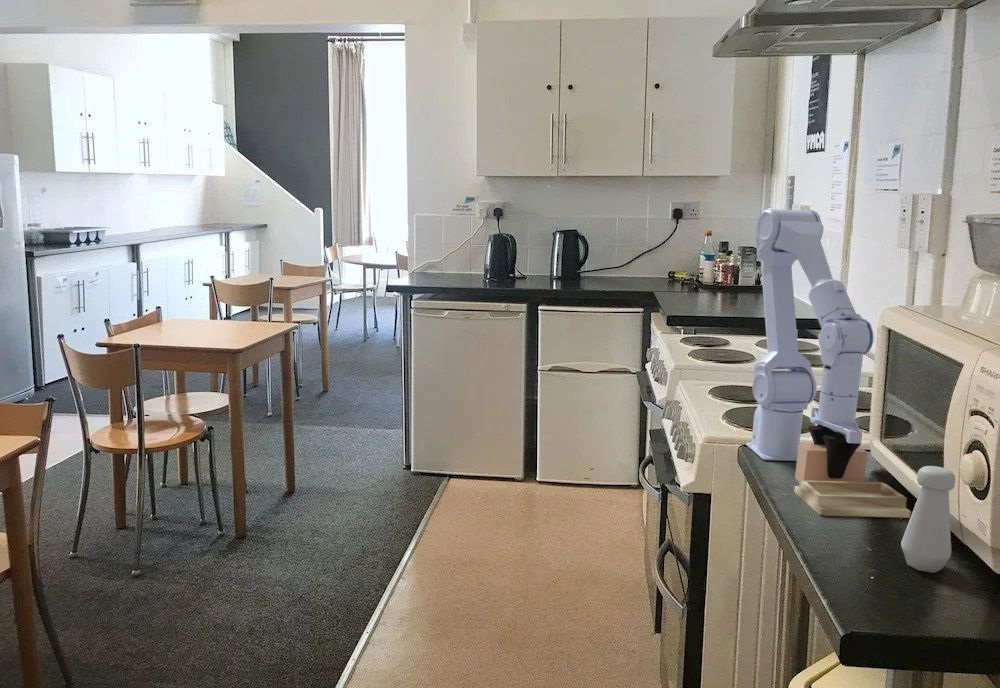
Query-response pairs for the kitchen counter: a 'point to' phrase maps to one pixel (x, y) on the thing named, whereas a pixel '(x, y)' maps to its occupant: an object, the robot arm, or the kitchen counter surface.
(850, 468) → the clay block
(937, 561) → the salt shaker
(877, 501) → the tray
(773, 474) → the kitchen counter surface
